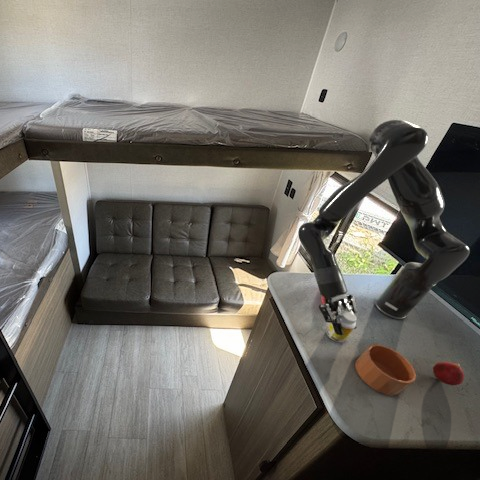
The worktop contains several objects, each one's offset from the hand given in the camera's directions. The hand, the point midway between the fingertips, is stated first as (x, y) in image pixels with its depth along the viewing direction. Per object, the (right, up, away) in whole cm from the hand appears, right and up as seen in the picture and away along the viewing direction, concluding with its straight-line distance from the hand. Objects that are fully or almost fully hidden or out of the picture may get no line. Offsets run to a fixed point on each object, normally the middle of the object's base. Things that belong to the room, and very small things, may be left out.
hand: (346, 331), depth 81 cm
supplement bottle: (-1, -3, +4) cm, 5 cm away
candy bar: (+4, +5, +17) cm, 18 cm away
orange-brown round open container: (+4, -11, -7) cm, 13 cm away
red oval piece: (+22, -12, -6) cm, 26 cm away
